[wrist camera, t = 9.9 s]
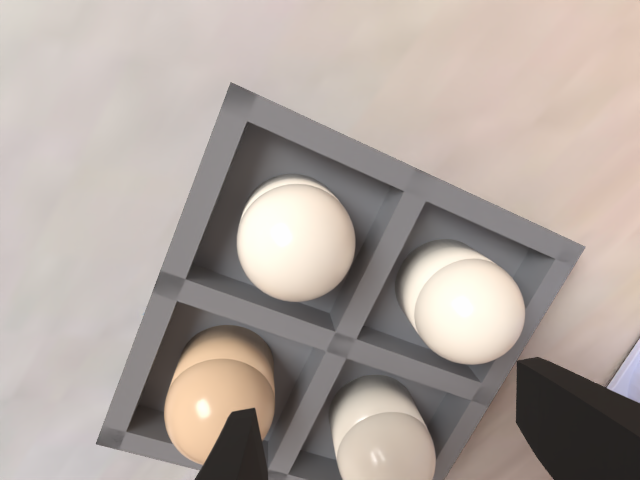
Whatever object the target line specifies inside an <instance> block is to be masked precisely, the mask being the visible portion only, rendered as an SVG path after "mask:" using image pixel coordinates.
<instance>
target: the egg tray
mask: <svg viewBox="0 0 640 480" xmlns="http://www.w3.org/2000/svg"><path fill="white" fill-rule="evenodd" d="M283 174H302V175H306V176H309V177H312V178H314V179H316V180H318V181H320V182H321V183H323V184H324V185H325V186H326V187H327V188H328V189H329V190H330V191H331V192H332V193H333V194H334V196H335V197H336V198H337V199H338V200H339V202H340V203H341V204H342V205H343V207H344V208H345V210H346V211H347V213H348V214H349V217H350V219H351V221H352V224H353V227H354V231H355V254H354V258H353V262H352V264H351V266H350V269H349V270H348V272H347V274H346V276H345V277H344V278H343V280H342V281H341V282H340V283H339V284H338V285H337V286H336V287H335V288H334V289H333V290H331V291H330V292H328V293H327V294H325V295H323V296H321V297H319V298H316V299H313V300H309V301H303V302H289V301H283V300H279V299H276V298H274V297H271V296H269V295H267V294H266V293H264V292H262V291H261V290H260V289H259V288H257V287H256V286H255V285H254V284H253V283H252V282H251V281H250V279H249V278H248V277H247V275H246V274H245V272H244V270H243V268H242V266H241V263H240V261H239V257H238V253H237V233H238V227H239V224H240V220H241V216H242V212H243V209H244V206H245V204H246V202H247V200H248V198H249V196H250V195H251V193H252V192H253V191H254V190H255V189H256V188H257V187H258V186H259V185H261V184H262V183H263V182H265V181H266V180H268V179H270V178H273V177H275V176H278V175H283ZM438 239H452V240H457V241H460V242H463V243H464V244H466V245H468V246H470V247H471V248H473V249H474V250H476V251H477V252H479V253H480V254H482V255H483V256H485V257H486V258H488V259H489V260H491V261H492V262H494V263H495V264H497V265H498V266H500V267H501V268H503V269H504V270H505V271H506V272H507V273H508V274H509V275H510V276H511V277H512V278H513V280H514V281H515V282H516V284H517V285H518V287H519V289H520V291H521V293H522V296H523V300H524V305H525V321H524V326H523V330H522V332H521V335H520V336H519V338H518V340H517V341H516V343H515V344H514V345H513V347H512V348H511V349H510V350H509V351H508V352H506V353H505V354H504V355H502V356H501V357H499V358H497V359H495V360H493V361H490V362H487V363H483V364H475V365H466V364H460V363H456V362H452V361H449V360H447V359H445V358H443V357H441V356H439V355H438V354H436V353H435V352H434V351H432V350H431V349H430V348H429V347H428V346H427V345H426V344H425V342H424V341H423V340H422V339H421V337H420V336H419V334H418V333H417V331H416V330H415V328H414V327H413V326H412V324H411V323H410V321H409V320H408V318H407V317H406V315H405V314H404V312H403V311H402V309H401V308H400V306H399V304H398V302H397V299H396V295H395V281H396V276H397V273H398V270H399V268H400V266H401V265H402V263H403V261H404V260H405V259H406V257H407V256H408V255H409V254H410V253H411V252H412V251H414V250H415V249H416V248H418V247H419V246H421V245H423V244H425V243H427V242H430V241H433V240H438ZM584 249H585V246H583V245H580V244H578V243H576V242H574V241H572V240H570V239H568V238H565V237H563V236H561V235H559V234H557V233H555V232H552V231H550V230H548V229H546V228H544V227H542V226H540V225H537V224H535V223H533V222H531V221H529V220H527V219H524V218H522V217H520V216H518V215H516V214H514V213H512V212H509V211H507V210H505V209H503V208H501V207H499V206H496V205H494V204H492V203H490V202H488V201H486V200H484V199H481V198H479V197H477V196H475V195H473V194H471V193H468V192H466V191H464V190H462V189H460V188H458V187H456V186H453V185H451V184H449V183H447V182H445V181H443V180H440V179H438V178H436V177H434V176H432V175H430V174H428V173H425V172H423V171H421V170H419V169H417V168H415V167H412V166H410V165H408V164H406V163H404V162H402V161H400V160H397V159H395V158H393V157H391V156H389V155H387V154H384V153H382V152H380V151H378V150H376V149H374V148H372V147H369V146H367V145H365V144H363V143H361V142H359V141H356V140H354V139H352V138H350V137H348V136H346V135H344V134H341V133H339V132H337V131H335V130H333V129H331V128H328V127H326V126H324V125H322V124H320V123H318V122H316V121H313V120H311V119H309V118H307V117H305V116H303V115H300V114H298V113H296V112H294V111H292V110H290V109H288V108H285V107H283V106H281V105H279V104H277V103H275V102H272V101H270V100H268V99H266V98H264V97H262V96H260V95H257V94H255V93H253V92H251V91H249V90H247V89H244V88H242V87H240V86H238V85H236V84H234V83H232V82H231V83H230V86H229V88H228V91H227V94H226V96H225V99H224V102H223V104H222V107H221V110H220V112H219V115H218V118H217V120H216V123H215V126H214V128H213V131H212V134H211V136H210V139H209V142H208V145H207V147H206V150H205V153H204V155H203V158H202V161H201V163H200V166H199V169H198V171H197V174H196V177H195V179H194V182H193V185H192V187H191V190H190V193H189V195H188V198H187V201H186V203H185V206H184V209H183V212H182V214H181V217H180V220H179V222H178V225H177V228H176V230H175V233H174V236H173V238H172V241H171V244H170V246H169V249H168V252H167V254H166V257H165V260H164V262H163V265H162V268H161V270H160V273H159V276H158V279H157V281H156V284H155V287H154V289H153V292H152V295H151V297H150V300H149V303H148V305H147V308H146V311H145V313H144V316H143V319H142V321H141V324H140V327H139V329H138V332H137V335H136V337H135V340H134V343H133V345H132V348H131V351H130V354H129V356H128V359H127V362H126V364H125V367H124V370H123V372H122V375H121V378H120V380H119V383H118V386H117V388H116V391H115V394H114V396H113V399H112V402H111V404H110V407H109V410H108V412H107V415H106V418H105V421H104V423H103V426H102V429H101V431H100V434H99V437H98V439H97V442H96V444H97V445H101V446H105V447H109V448H113V449H117V450H121V451H125V452H129V453H133V454H137V455H141V456H145V457H149V458H153V459H157V460H161V461H165V462H169V463H172V464H176V465H180V466H184V467H188V468H192V469H196V470H201V468H202V466H203V465H201V464H198V463H195V462H193V461H191V460H189V459H188V458H186V457H185V456H184V455H182V454H181V453H180V452H179V451H178V450H177V449H176V447H175V446H174V445H173V443H172V441H171V440H170V438H169V435H168V433H167V430H166V426H165V420H164V406H165V400H166V396H167V393H168V390H169V387H170V384H171V381H172V379H173V376H174V373H175V370H176V367H177V364H178V361H179V359H180V356H181V353H182V351H183V349H184V347H185V346H186V344H187V343H188V342H189V341H190V340H191V338H193V337H194V336H195V335H196V334H198V333H200V332H201V331H203V330H205V329H208V328H211V327H214V326H219V325H235V326H240V327H244V328H246V329H249V330H251V331H253V332H254V333H256V334H257V335H259V336H260V337H261V338H262V339H263V340H264V341H265V342H266V343H267V345H268V346H269V348H270V350H271V353H272V356H273V360H274V387H275V410H274V417H273V421H272V424H271V427H270V429H269V431H268V433H267V435H266V437H265V438H264V440H263V441H262V444H263V449H264V454H265V459H266V463H267V468H268V480H343V479H342V477H341V475H340V472H339V468H338V464H337V459H336V454H335V449H334V444H333V439H332V434H331V429H330V424H329V416H328V414H329V408H330V404H331V402H332V400H333V398H334V396H335V395H336V394H337V392H338V391H339V390H340V389H341V388H342V387H343V386H345V385H346V384H347V383H349V382H351V381H352V380H354V379H357V378H359V377H362V376H367V375H385V376H388V377H391V378H394V379H396V380H398V381H399V382H400V383H402V384H403V385H404V386H405V387H406V388H407V390H408V391H409V393H410V395H411V397H412V399H413V401H414V403H415V405H416V407H417V409H418V411H419V413H420V415H421V417H422V419H423V421H424V423H425V425H426V427H427V429H428V431H429V433H430V435H431V437H432V440H433V443H434V448H435V454H436V466H435V472H434V476H433V479H432V480H444V479H445V478H446V476H447V474H448V473H449V471H450V469H451V468H452V466H453V464H454V463H455V461H456V460H457V458H458V456H459V455H460V453H461V451H462V450H463V448H464V446H465V445H466V443H467V441H468V440H469V438H470V436H471V435H472V433H473V432H474V430H475V428H476V427H477V425H478V423H479V422H480V420H481V418H482V417H483V415H484V413H485V412H486V410H487V408H488V407H489V405H490V404H491V402H492V400H493V399H494V397H495V395H496V394H497V392H498V390H499V389H500V387H501V385H502V384H503V382H504V380H505V379H506V377H507V376H508V374H509V372H510V371H511V369H512V367H513V366H514V364H515V362H516V361H517V359H518V357H519V356H520V354H521V353H522V351H523V349H524V348H525V346H526V344H527V343H528V341H529V339H530V338H531V336H532V334H533V333H534V331H535V329H536V328H537V326H538V325H539V323H540V321H541V320H542V318H543V316H544V315H545V313H546V311H547V310H548V308H549V306H550V305H551V303H552V301H553V300H554V298H555V297H556V295H557V293H558V292H559V290H560V288H561V287H562V285H563V283H564V282H565V280H566V278H567V277H568V275H569V273H570V272H571V270H572V269H573V267H574V265H575V264H576V262H577V260H578V259H579V257H580V255H581V254H582V252H583V250H584Z"/></svg>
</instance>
